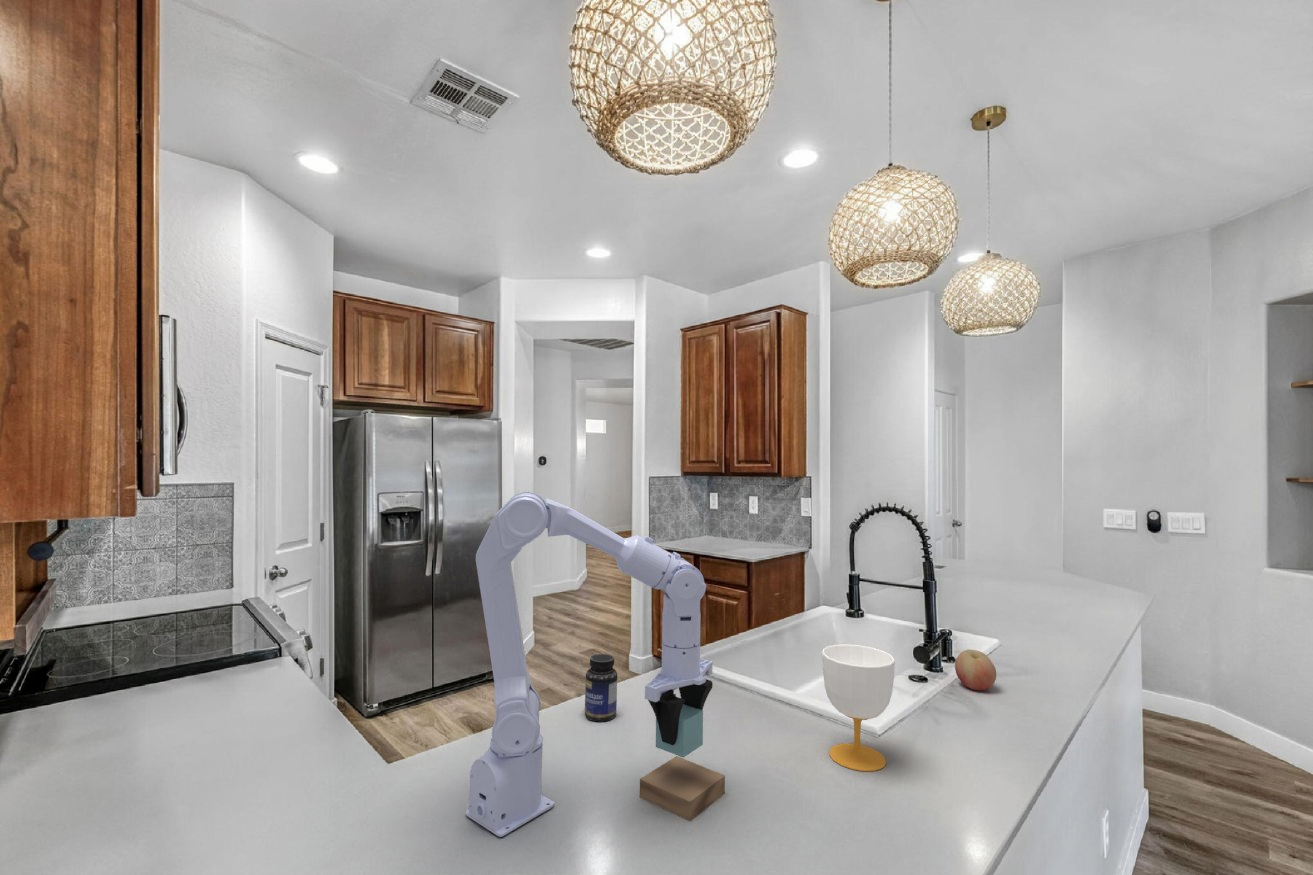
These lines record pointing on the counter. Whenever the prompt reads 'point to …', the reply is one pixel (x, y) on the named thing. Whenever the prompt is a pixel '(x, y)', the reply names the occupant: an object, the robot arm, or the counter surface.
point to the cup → (858, 696)
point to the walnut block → (682, 787)
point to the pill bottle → (601, 688)
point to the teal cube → (685, 733)
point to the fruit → (975, 670)
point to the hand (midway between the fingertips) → (679, 735)
